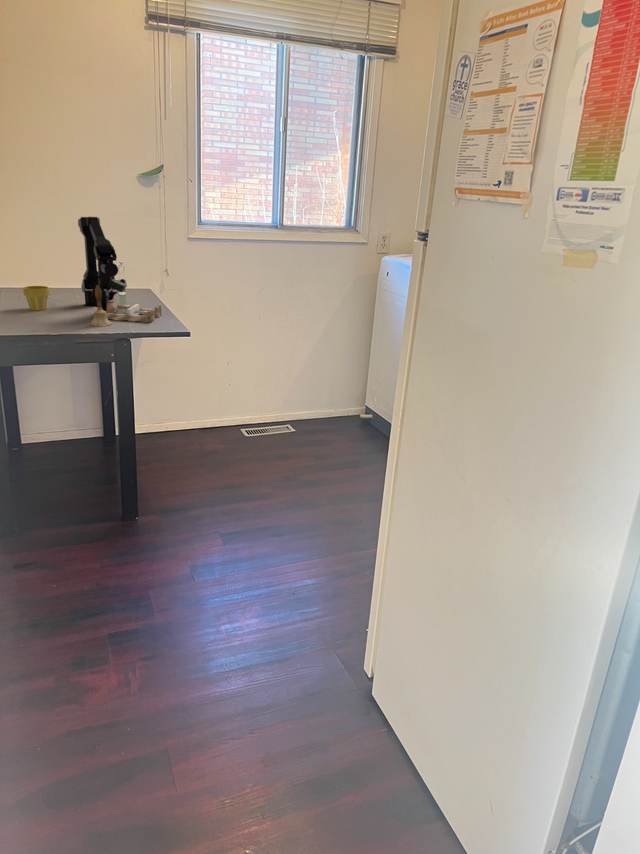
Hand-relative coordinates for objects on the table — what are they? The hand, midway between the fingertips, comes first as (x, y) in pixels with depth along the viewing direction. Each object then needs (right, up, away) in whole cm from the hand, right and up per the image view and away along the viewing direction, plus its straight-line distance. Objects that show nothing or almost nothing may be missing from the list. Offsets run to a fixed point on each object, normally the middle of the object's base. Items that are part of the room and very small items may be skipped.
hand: (107, 309), depth 272 cm
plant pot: (-32, +1, +4) cm, 33 cm away
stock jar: (+7, -3, +1) cm, 8 cm away
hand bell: (+3, -10, -16) cm, 19 cm away
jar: (0, -1, 0) cm, 1 cm away
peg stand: (+14, -3, +1) cm, 15 cm away
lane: (+11, -3, +1) cm, 11 cm away
